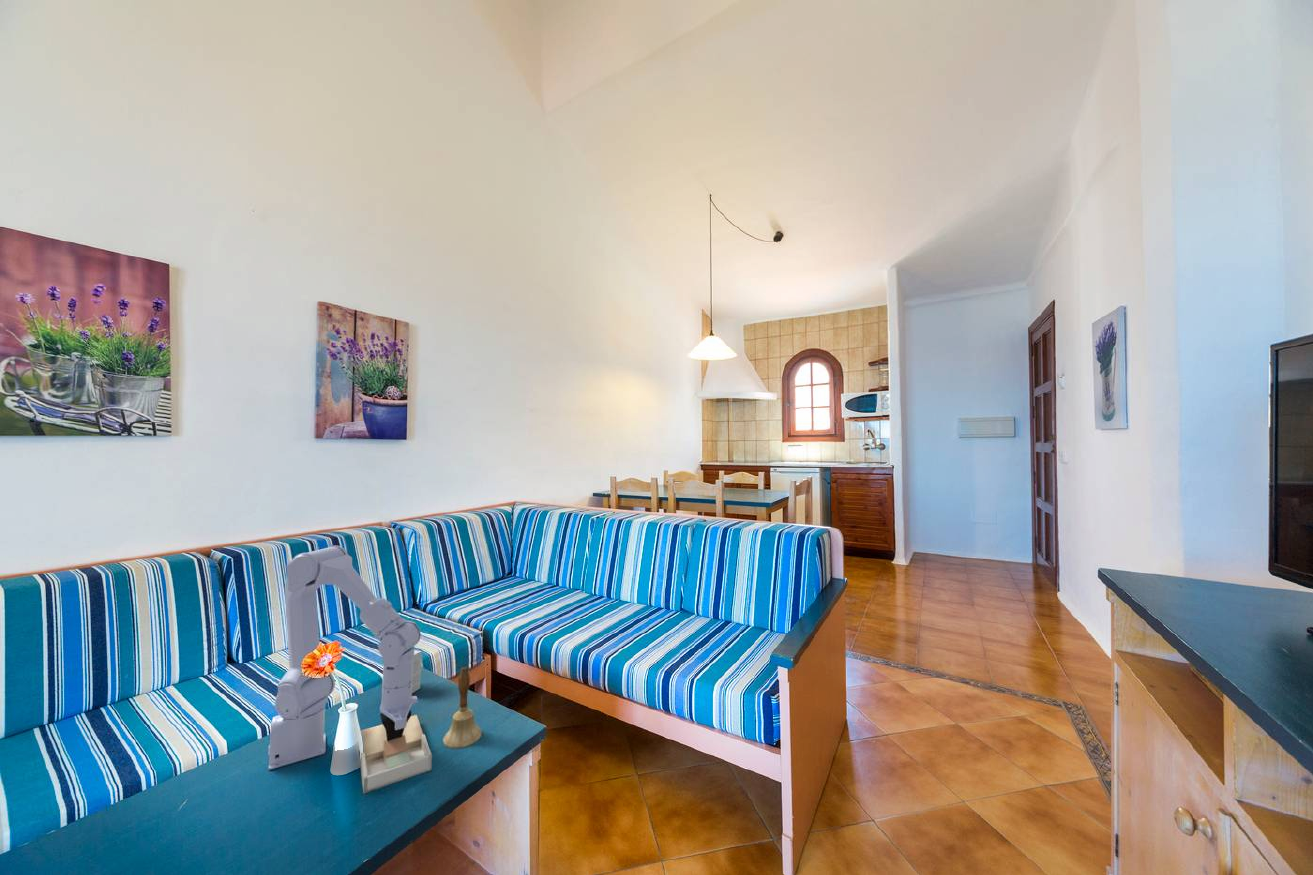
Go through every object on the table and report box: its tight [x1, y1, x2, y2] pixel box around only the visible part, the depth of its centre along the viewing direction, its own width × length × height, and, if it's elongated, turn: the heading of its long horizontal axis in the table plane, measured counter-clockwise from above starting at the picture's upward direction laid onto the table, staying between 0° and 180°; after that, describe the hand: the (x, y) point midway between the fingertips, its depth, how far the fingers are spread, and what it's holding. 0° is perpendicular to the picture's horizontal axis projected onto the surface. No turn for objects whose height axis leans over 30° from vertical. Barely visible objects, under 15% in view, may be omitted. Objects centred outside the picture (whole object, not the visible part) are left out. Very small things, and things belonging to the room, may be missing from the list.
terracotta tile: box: [383, 735, 407, 766], centre depth 97 cm, size 4×4×2 cm
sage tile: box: [385, 751, 410, 770], centre depth 94 cm, size 4×4×2 cm
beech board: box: [360, 714, 424, 763], centre depth 103 cm, size 12×11×2 cm
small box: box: [381, 649, 423, 694], centre depth 126 cm, size 8×6×10 cm
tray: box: [360, 733, 433, 794], centre depth 95 cm, size 12×9×3 cm
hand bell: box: [442, 666, 483, 749], centre depth 106 cm, size 8×8×16 cm
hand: (394, 746), depth 98 cm, fingers closed, pressing on terracotta tile
